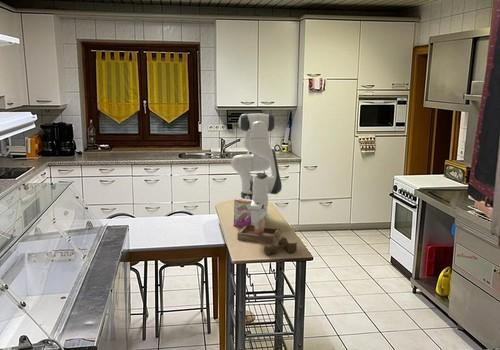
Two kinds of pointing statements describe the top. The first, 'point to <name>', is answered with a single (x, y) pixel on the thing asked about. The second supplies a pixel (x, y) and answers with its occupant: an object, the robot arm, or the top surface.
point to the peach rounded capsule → (261, 226)
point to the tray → (249, 234)
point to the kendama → (281, 246)
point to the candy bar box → (242, 212)
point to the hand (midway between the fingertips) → (259, 226)
